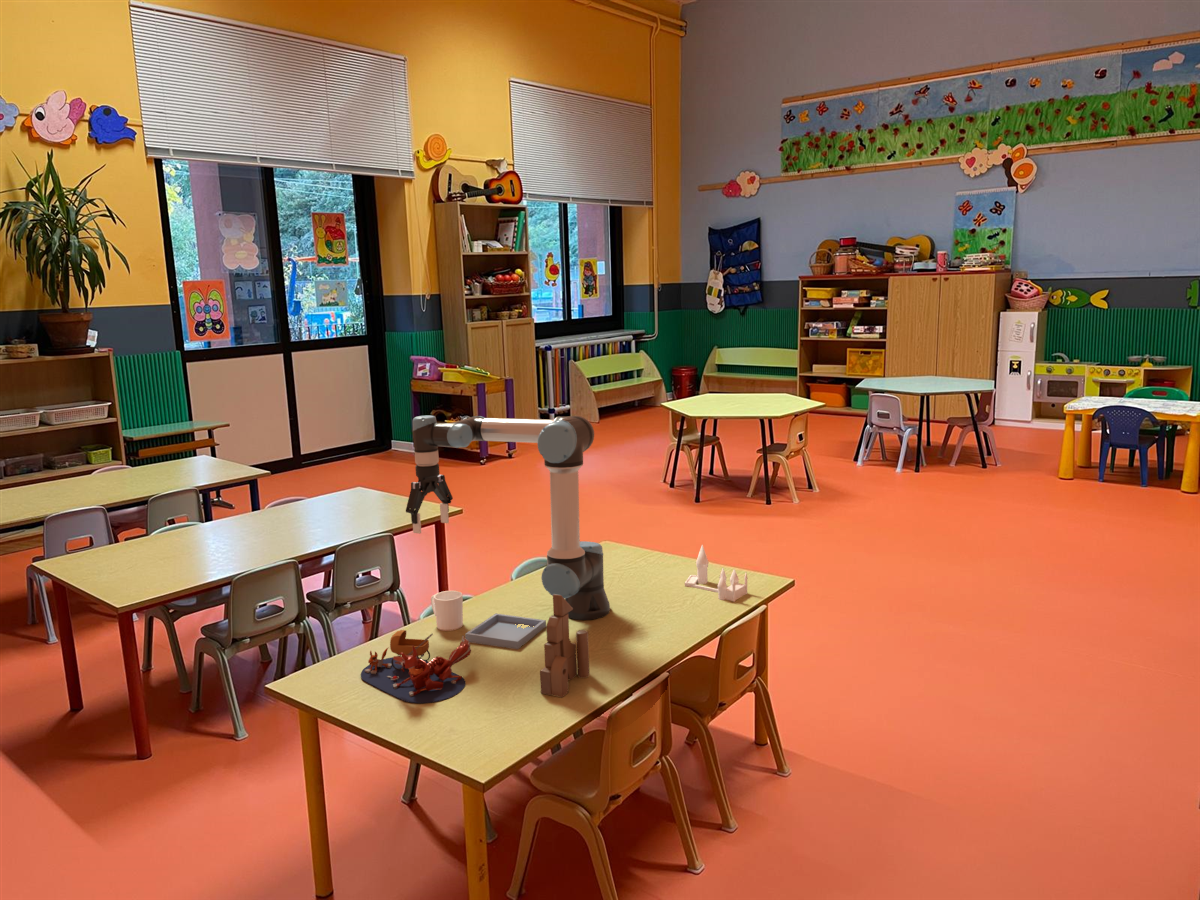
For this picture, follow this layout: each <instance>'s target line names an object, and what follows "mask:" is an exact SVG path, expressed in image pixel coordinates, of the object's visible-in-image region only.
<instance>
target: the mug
mask: <svg viewBox="0 0 1200 900" xmlns="http://www.w3.org/2000/svg"><path fill="white" fill-rule="evenodd" d="M463 597H464V596H463V593H462V591H458V590H445V591H444V590H443V591H441V592H437V593H435V594H433V595H432V596H430V604H431V608H432V612H433V614H434V616H435V620H436V628H437V630H439V631H443V632H449V631H455V630H456V631H457V630H459V629H460V628H462V627H463V625H464V623H463V622H464V620H463V619H464V618H463V616H464V615H463V609H464V608H463V604H464V603H463V602H464V601H463Z"/></svg>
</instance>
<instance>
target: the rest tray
mask: <svg viewBox="0 0 1200 900" xmlns="http://www.w3.org/2000/svg"><path fill="white" fill-rule="evenodd" d="M515 624H516V625H515ZM518 624H524V625H529V626H530V627H529V626H528V627H526V628H524V629H523V628H521V626H522V625H521V626H520V627H518V628H517V625H518ZM533 626H534V627H533ZM545 628H547V620H545V619H537V618H532V617H525V616H524V617H523V616H517V615H510V614H504V613H503V614H502V613H494V614H493V615H491V616H490V617H488V618H486V619H485V620H484V621H482V622H481V623H479V624H478V625H476V626H474V627H473V628H472V629H470V630H468V631H466V633H465V635H464V638H465V639H467V640H469V642H470V644H471V643H473V644H478V645H479V644H480V645H484V646H491V647H492V646H494V647H499V648H505V647H506V649H511V650H519V649H520V648H521V646H522V645H523V646H524V645H525V644H526V643H528V642H529V641H531V640H532V639H533V638H534V637H535V636H536V635H537V634H539V633H540V632H541V631H543V629H545ZM523 646H522V647H523Z"/></svg>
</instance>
